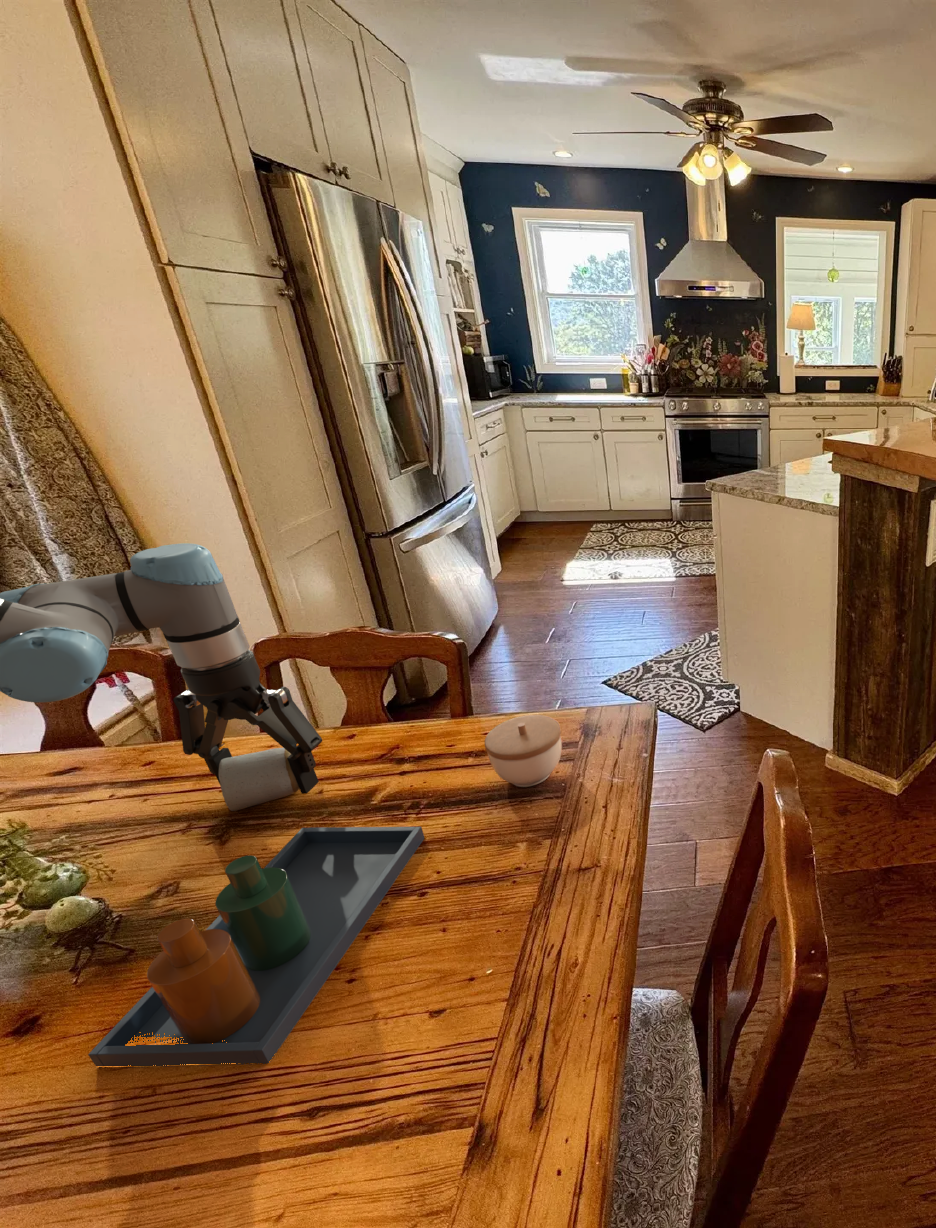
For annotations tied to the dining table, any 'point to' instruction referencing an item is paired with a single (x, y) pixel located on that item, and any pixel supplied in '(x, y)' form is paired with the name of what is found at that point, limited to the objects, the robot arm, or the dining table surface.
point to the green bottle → (262, 914)
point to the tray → (335, 912)
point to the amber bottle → (202, 982)
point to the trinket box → (525, 749)
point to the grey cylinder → (256, 778)
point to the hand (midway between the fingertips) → (272, 788)
